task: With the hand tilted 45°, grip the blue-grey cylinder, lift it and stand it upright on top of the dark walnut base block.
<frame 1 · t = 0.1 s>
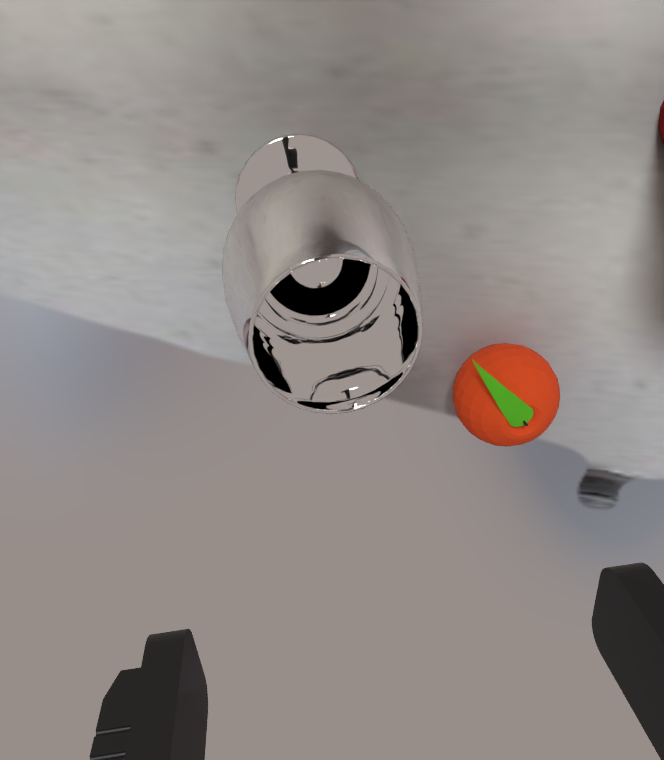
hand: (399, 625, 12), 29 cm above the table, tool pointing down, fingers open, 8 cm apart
wineglass: (298, 200, 36), on the table
clementine: (482, 364, 43), on the table
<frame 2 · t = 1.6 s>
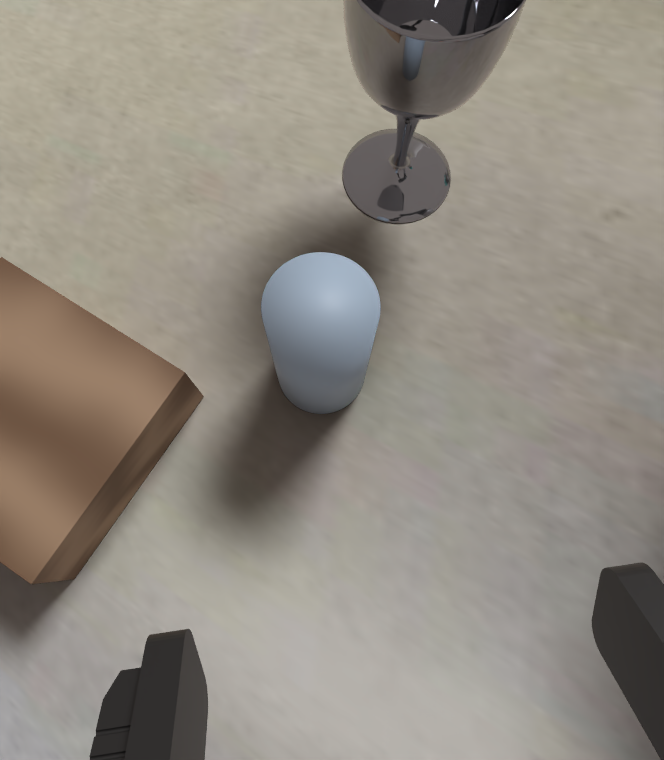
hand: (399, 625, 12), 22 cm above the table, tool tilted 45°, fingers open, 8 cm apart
walnut base: (57, 428, 35), on the table
wine glass: (396, 177, 40), on the table
blue-grey cylinder: (321, 371, 36), on the table
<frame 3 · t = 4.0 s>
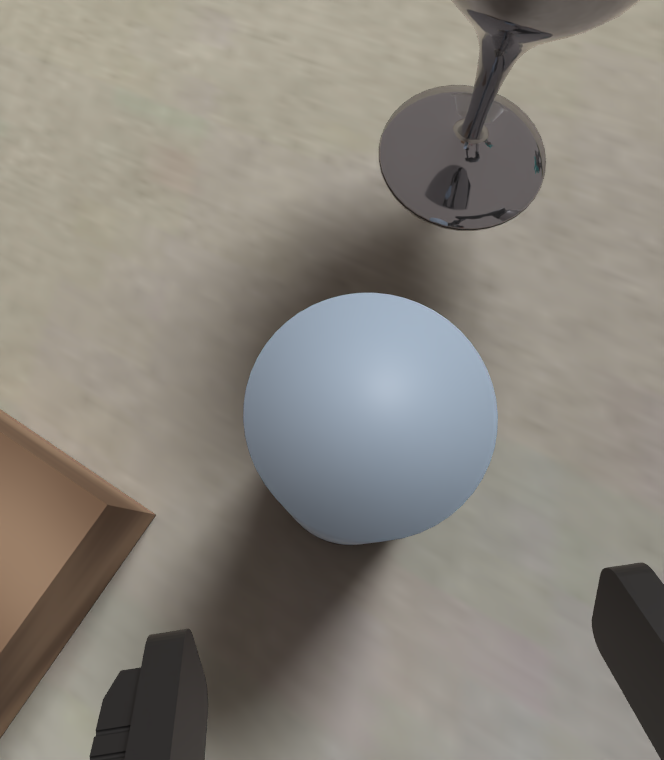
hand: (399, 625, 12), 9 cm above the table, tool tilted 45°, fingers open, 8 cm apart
wine glass: (461, 157, 26), on the table
blue-grey cylinder: (349, 471, 22), on the table
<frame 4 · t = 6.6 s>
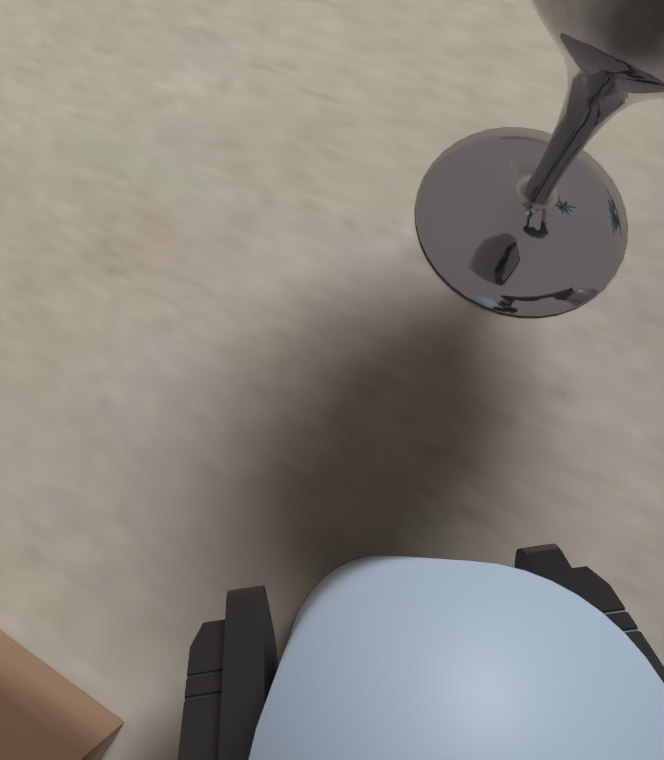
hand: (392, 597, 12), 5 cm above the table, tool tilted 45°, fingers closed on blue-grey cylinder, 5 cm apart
wine glass: (519, 221, 20), on the table
blue-grey cylinder: (384, 654, 16), on the table, touching gripper
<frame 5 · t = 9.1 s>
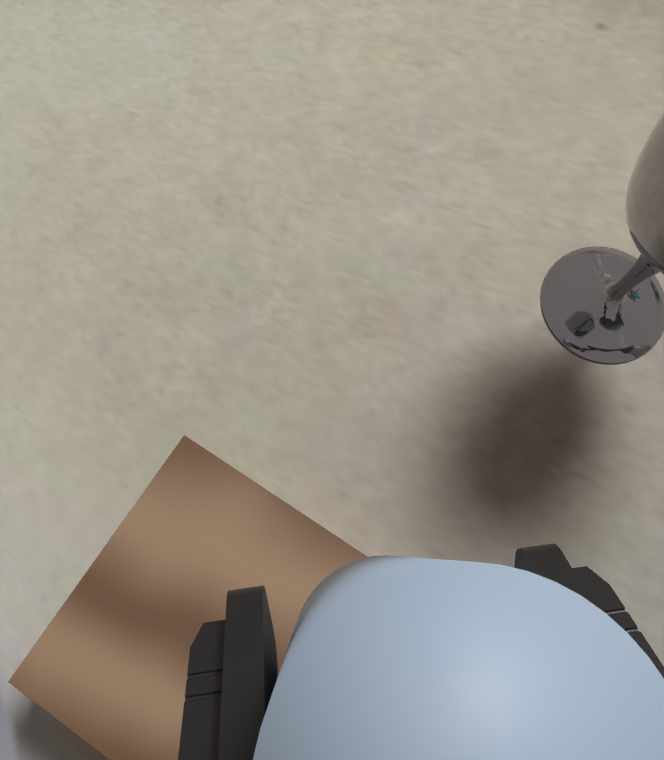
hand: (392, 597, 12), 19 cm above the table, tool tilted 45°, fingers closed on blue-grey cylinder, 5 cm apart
walnut base: (233, 618, 30), on the table
wine glass: (602, 304, 34), on the table
blue-grey cylinder: (386, 655, 16), point 14 cm above the table, touching gripper
when the fingers open (11 cm above the table, at t = 11.7 s): blue-grey cylinder drops 1 cm, resting on walnut base.
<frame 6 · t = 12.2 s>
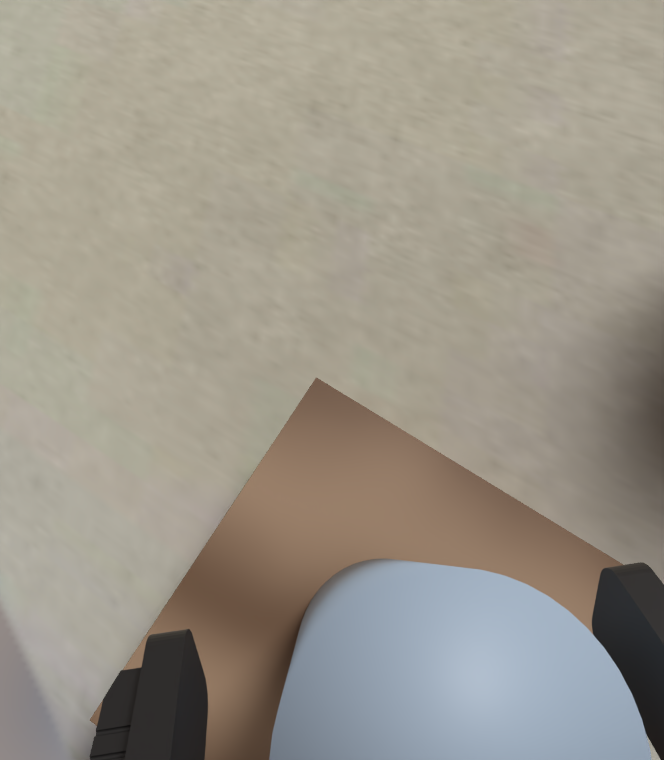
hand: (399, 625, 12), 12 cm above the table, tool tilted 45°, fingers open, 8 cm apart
walnut base: (366, 626, 23), on the table
blue-grey cylinder: (385, 650, 18), point 5 cm above the table, touching walnut base
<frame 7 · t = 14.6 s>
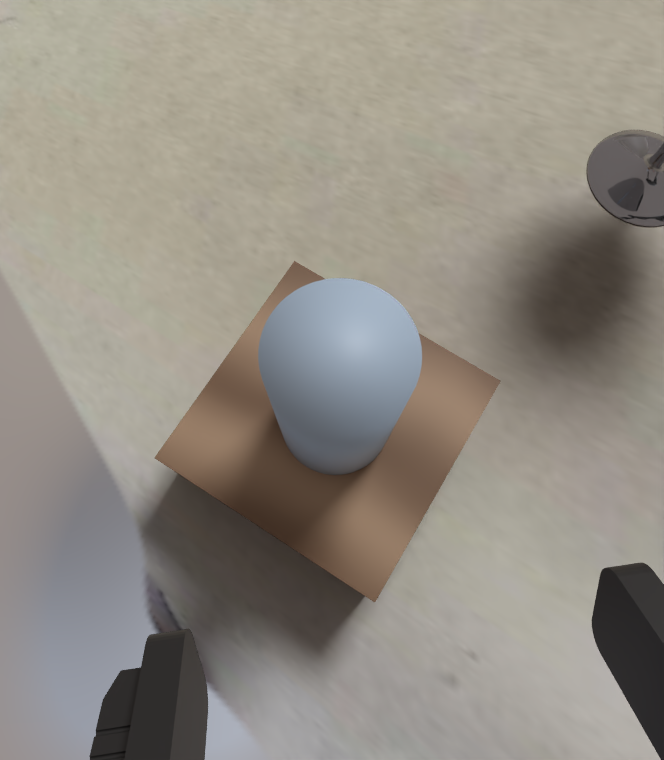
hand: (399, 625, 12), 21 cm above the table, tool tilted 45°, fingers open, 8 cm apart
walnut base: (329, 437, 33), on the table
wine glass: (640, 179, 39), on the table
blue-grey cylinder: (335, 420, 29), point 5 cm above the table, touching walnut base
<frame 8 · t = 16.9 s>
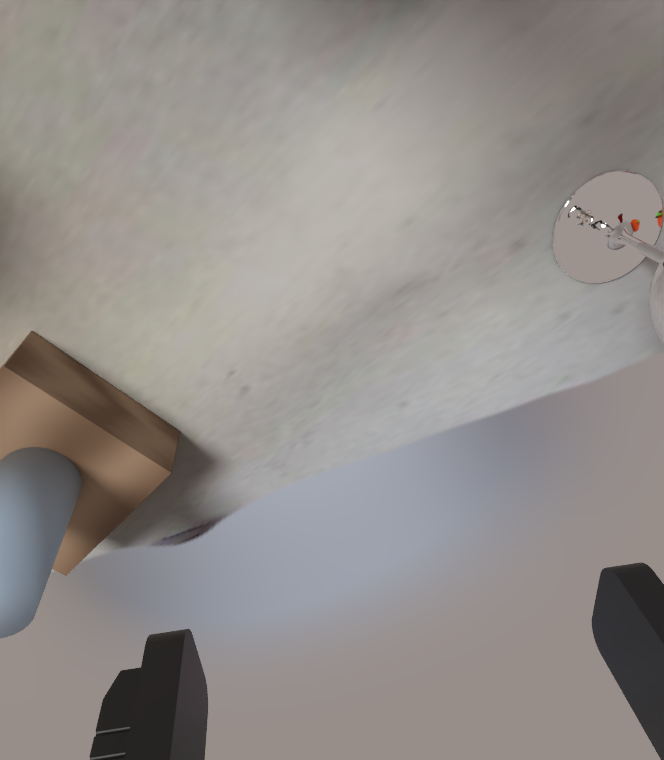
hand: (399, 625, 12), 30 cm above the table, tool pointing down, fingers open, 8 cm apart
wineglass: (604, 227, 40), on the table
walnut base: (60, 438, 43), on the table
blue-grey cylinder: (39, 480, 39), point 5 cm above the table, touching walnut base
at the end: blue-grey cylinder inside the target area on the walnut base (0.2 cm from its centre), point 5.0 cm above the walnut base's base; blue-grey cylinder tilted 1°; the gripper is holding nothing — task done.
